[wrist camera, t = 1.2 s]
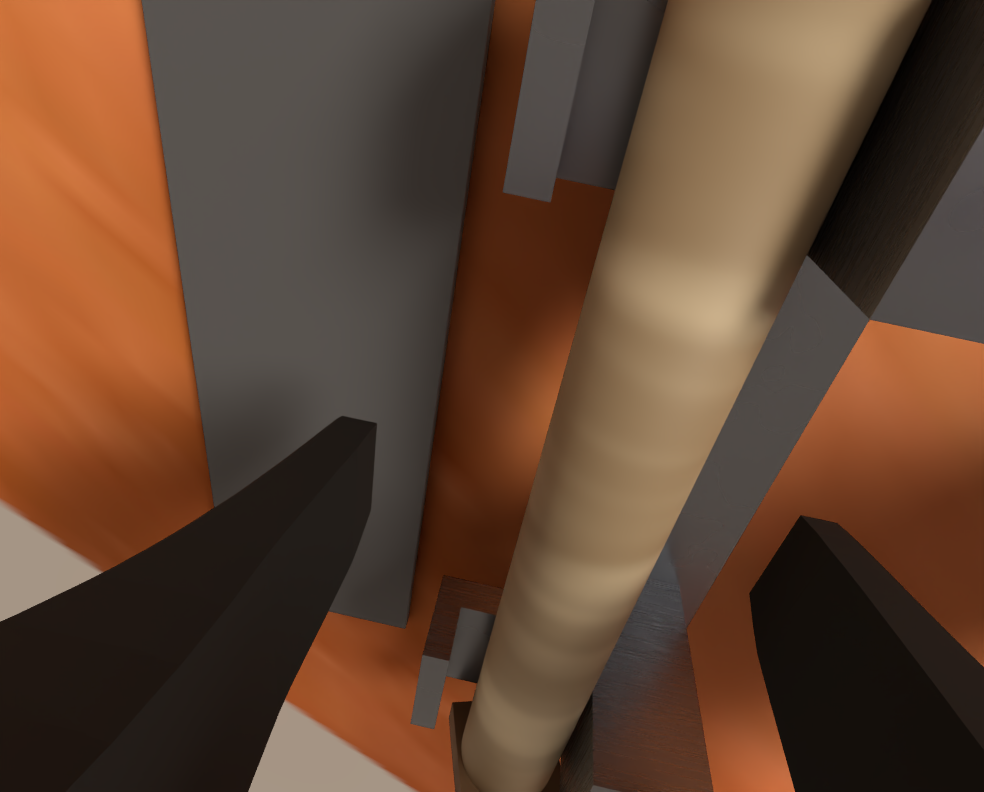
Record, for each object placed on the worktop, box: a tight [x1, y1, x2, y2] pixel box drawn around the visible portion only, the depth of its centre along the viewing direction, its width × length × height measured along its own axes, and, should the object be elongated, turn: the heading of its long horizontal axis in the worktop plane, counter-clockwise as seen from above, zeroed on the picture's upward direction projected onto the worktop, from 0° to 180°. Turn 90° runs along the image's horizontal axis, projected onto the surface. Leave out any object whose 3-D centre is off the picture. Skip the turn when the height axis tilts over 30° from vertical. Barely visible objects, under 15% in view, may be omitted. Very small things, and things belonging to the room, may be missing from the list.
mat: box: [142, 0, 495, 629], centre depth 13 cm, size 6×20×1 cm, turn 170°
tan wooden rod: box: [449, 0, 932, 792], centre depth 10 cm, size 19×3×3 cm, turn 170°
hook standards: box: [411, 0, 984, 792], centre depth 11 cm, size 7×18×6 cm, turn 170°
